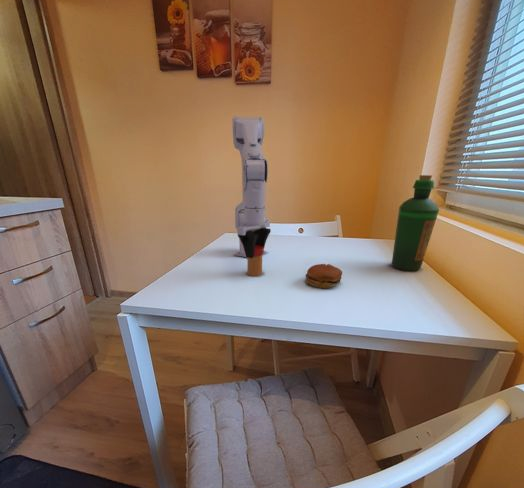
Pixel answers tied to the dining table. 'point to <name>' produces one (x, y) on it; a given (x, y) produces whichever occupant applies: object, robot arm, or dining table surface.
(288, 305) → the dining table surface
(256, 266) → the honey jar
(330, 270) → the burger
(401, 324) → the dining table surface
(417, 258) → the bottle
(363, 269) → the dining table surface
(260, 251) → the jar lid
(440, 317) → the dining table surface
